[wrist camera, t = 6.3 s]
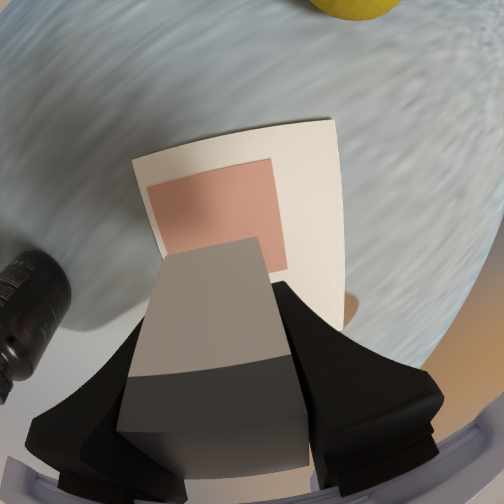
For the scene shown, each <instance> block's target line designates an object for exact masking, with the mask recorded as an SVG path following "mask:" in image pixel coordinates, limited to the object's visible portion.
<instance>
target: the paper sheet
mask: <svg viewBox="0 0 504 504" xmlns="http://www.w3.org/2000/svg"><path fill="white" fill-rule="evenodd" d="M132 164H133V168H134V171H135V175H136V178H137V182H138V185H139V189H140V192H141V195H142V199H143V202H144V205H145V208H146V211H147V214H148V217H149V221H150V224H151V227H152V230H153V233H154V235H155V238H156V241H157V244H158V247H159V250H160V252H161V255H162V258H163V261H164V258H165V256H166V255H170V254H175V253H180V252H184V251H189V250H193V249H198V248H202V247H207V246H212V245H216V244H221V243H226V242H231V241H235V240H240V239H245V238H250V237H254V236H257V237H258V240H259V244H260V247H261V251H262V254H263V258H264V261H265V264H266V268H267V271H268V275H269V278H270V282H271V283H275V282H279V281H285V282H287V284H288V285H289V286H290V288H291V289H292V290H293V291H294V292H295V293H296V294H297V296H298V297H299V298H300V299H301V300H302V301H303V302H304V303H305V304H306V305H307V306H308V307H310V308H311V309H312V310H313V311H314V312H315V313H316V314H317V315H318V316H319V317H321V318H322V319H323V320H324V321H326V322H327V323H328V324H329V325H331V326H332V327H333V328H335V329H336V330H337V331H341V330H343V316H344V281H345V258H344V220H343V201H342V187H341V174H340V163H339V153H338V144H337V136H336V128H335V121H334V119H331V120H320V121H310V122H301V123H293V124H285V125H278V126H271V127H265V128H259V129H253V130H247V131H242V132H237V133H232V134H227V135H222V136H217V137H213V138H208V139H204V140H200V141H196V142H192V143H188V144H184V145H180V146H176V147H173V148H169V149H166V150H162V151H159V152H155V153H152V154H149V155H145V156H142V157H139V158H136V159H133V160H132Z"/></svg>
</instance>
